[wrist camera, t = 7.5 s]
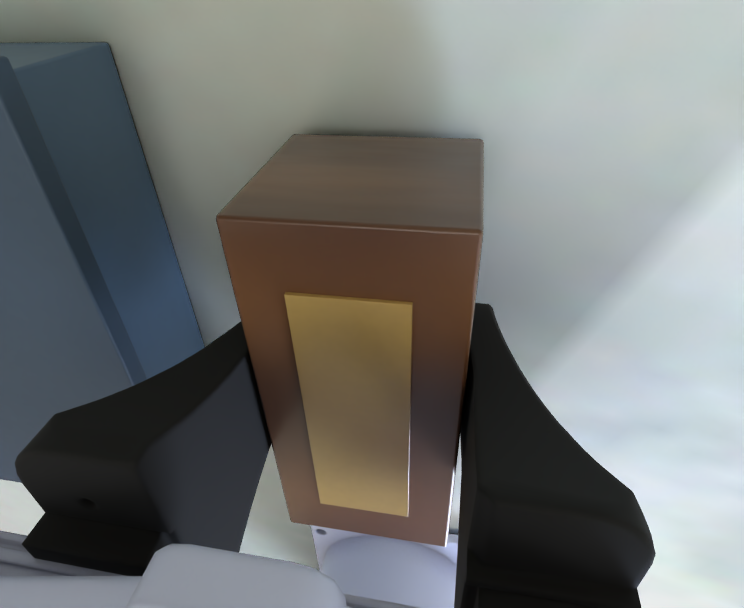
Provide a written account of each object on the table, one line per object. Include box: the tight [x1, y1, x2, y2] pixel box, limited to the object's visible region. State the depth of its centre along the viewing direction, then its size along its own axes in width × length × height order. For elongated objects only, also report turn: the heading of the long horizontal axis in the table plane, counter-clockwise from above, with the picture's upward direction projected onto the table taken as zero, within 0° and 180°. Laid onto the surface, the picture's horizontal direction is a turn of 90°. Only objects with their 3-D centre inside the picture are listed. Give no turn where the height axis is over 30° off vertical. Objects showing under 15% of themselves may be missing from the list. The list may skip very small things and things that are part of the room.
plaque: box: [216, 134, 484, 547], centre depth 13 cm, size 10×5×5 cm, turn 2°
